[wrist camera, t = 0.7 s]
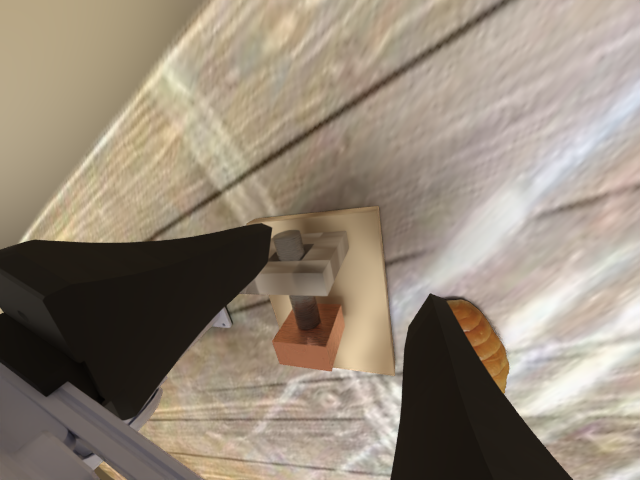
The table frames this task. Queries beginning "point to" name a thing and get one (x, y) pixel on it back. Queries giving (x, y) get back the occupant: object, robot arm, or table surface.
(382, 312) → the latch board
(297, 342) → the bolt
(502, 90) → the table surface
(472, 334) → the pastry
